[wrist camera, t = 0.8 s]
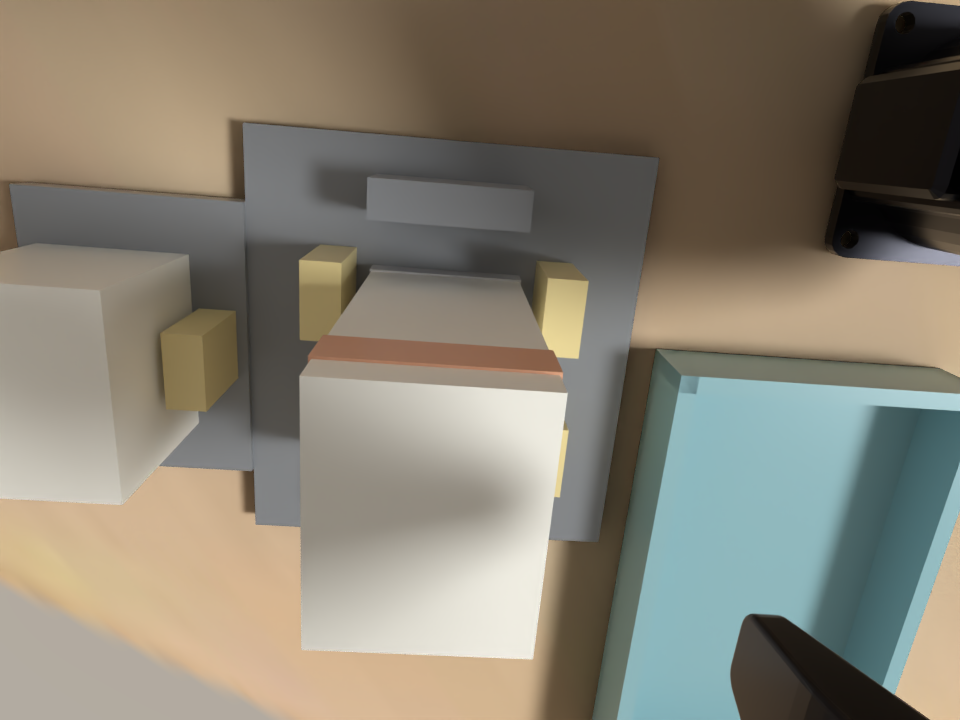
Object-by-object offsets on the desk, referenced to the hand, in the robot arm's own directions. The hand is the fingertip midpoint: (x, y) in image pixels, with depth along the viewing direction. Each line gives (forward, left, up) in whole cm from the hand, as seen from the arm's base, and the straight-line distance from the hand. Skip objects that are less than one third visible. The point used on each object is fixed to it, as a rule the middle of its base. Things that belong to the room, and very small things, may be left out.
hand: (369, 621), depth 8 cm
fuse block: (+3, +1, -12) cm, 13 cm away
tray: (-12, +8, -12) cm, 19 cm away
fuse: (-1, +1, -12) cm, 12 cm away
